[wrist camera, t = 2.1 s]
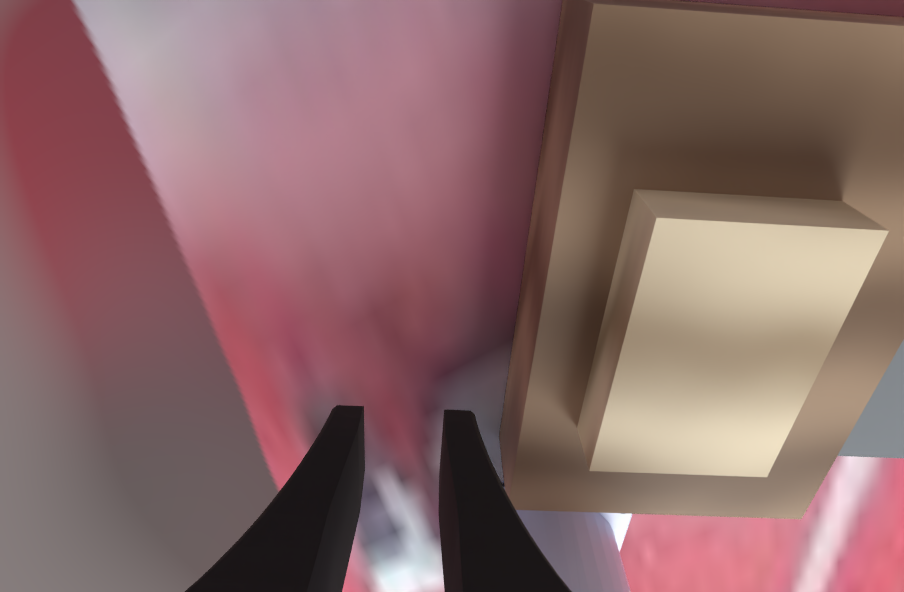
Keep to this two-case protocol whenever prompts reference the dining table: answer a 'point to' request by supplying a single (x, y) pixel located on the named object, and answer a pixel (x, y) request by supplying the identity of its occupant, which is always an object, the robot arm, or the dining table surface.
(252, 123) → the dining table surface
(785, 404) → the tile
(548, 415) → the brown shallow box
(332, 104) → the dining table surface
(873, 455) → the mat
